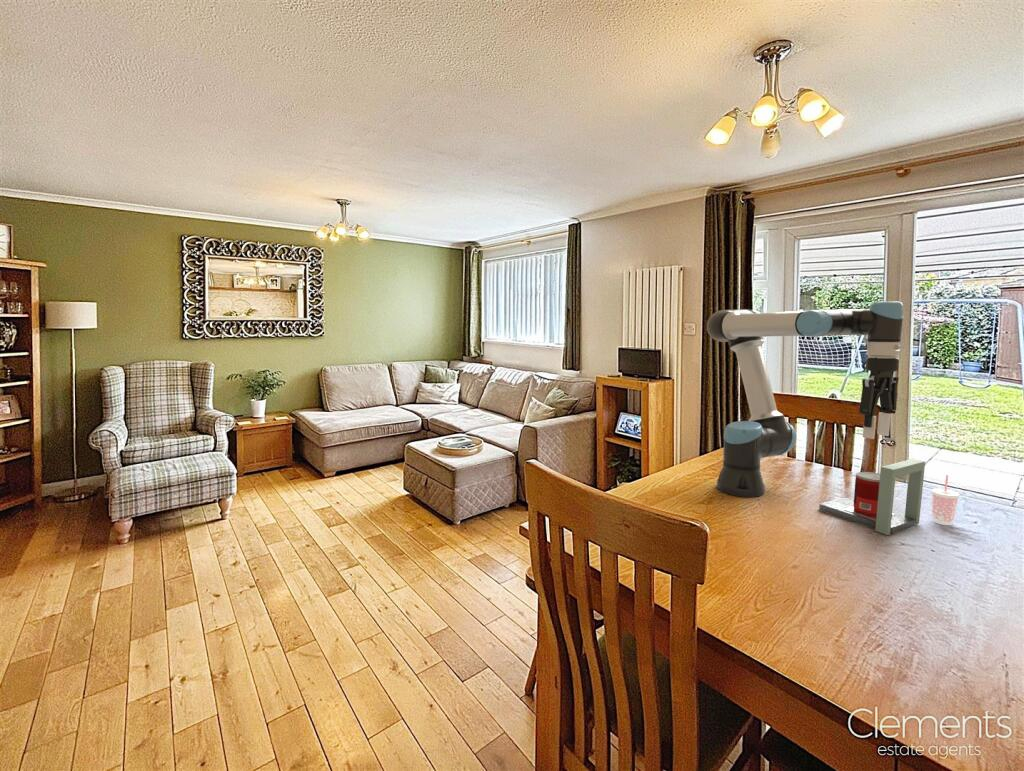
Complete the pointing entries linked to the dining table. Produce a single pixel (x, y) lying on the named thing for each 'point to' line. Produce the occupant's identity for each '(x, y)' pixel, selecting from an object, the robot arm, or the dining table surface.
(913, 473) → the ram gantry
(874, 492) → the canned food
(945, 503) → the beverage cup
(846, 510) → the plate
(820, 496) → the dining table surface
